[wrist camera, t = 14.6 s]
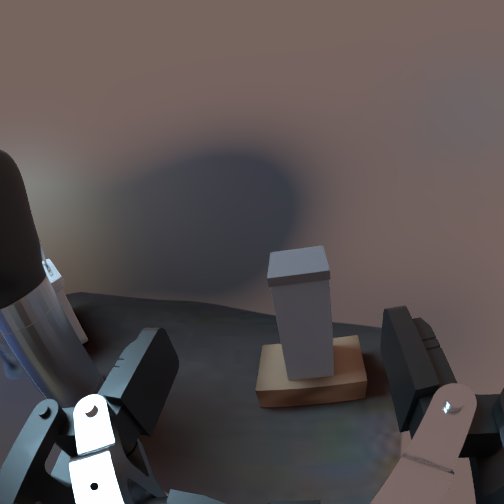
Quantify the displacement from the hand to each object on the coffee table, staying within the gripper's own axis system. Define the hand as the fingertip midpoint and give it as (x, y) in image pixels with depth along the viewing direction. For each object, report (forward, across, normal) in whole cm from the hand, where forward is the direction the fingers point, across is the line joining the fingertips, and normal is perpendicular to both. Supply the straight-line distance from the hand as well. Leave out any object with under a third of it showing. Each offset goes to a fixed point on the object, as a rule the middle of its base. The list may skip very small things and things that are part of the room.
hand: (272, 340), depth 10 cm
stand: (+14, +1, -19) cm, 24 cm away
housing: (+14, +1, -16) cm, 21 cm away
